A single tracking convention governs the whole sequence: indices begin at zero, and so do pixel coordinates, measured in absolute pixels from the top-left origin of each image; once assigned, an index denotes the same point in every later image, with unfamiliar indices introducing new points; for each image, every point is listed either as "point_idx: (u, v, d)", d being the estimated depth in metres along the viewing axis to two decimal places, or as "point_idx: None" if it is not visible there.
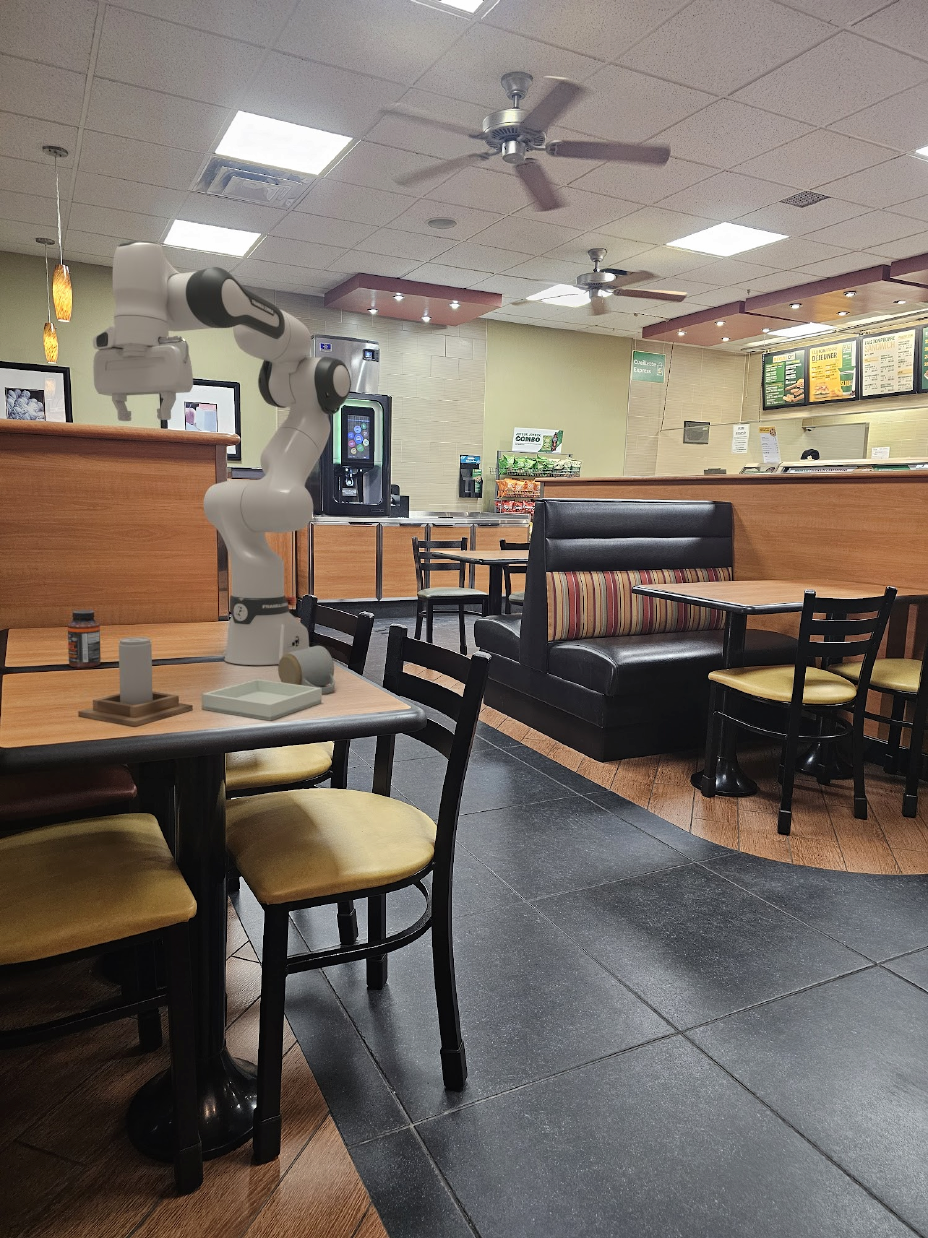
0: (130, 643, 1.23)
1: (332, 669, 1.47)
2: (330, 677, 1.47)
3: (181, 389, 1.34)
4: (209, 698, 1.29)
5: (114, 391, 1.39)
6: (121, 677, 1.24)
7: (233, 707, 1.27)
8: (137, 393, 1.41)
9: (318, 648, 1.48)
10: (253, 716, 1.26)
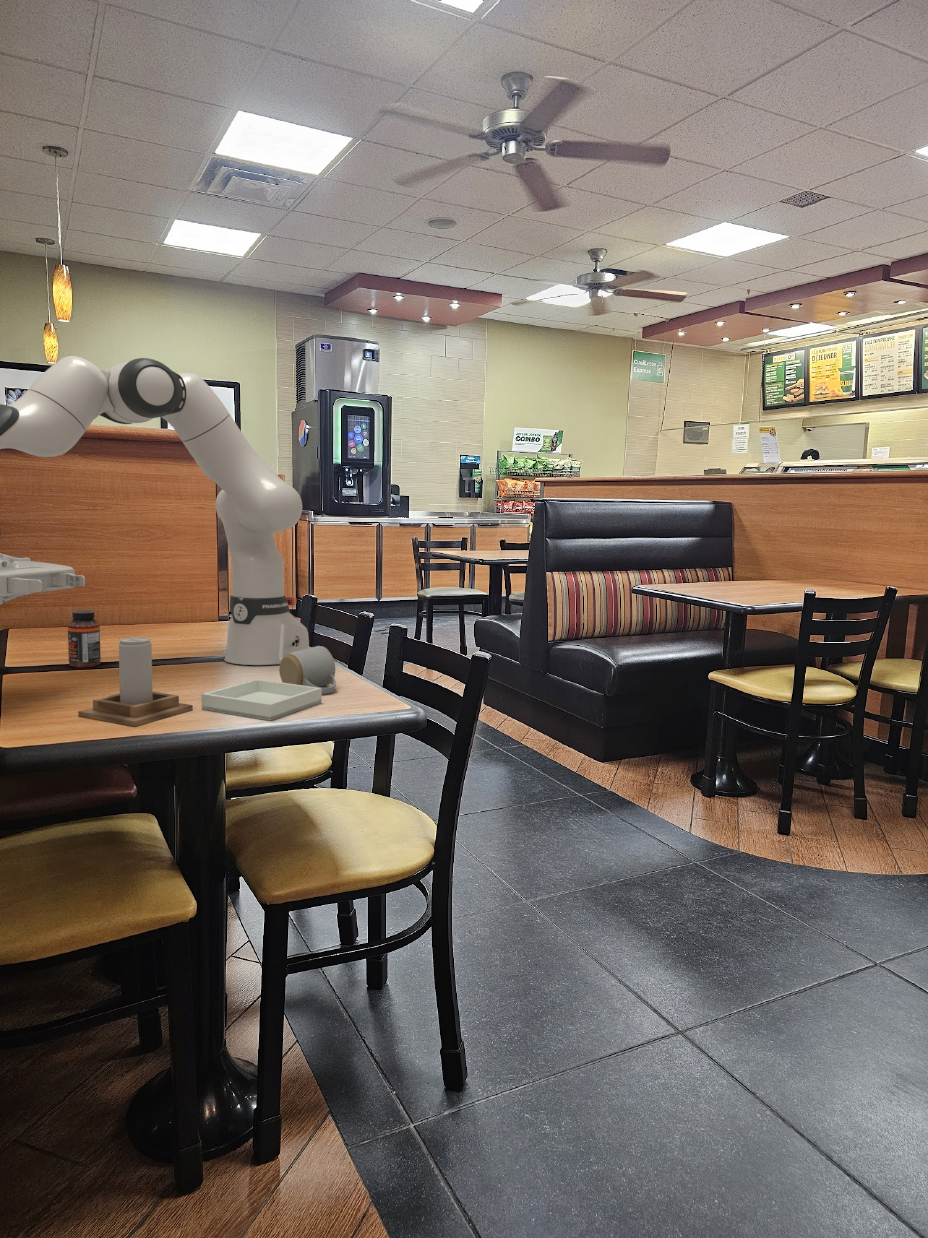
0: (130, 643, 1.23)
1: (333, 669, 1.47)
2: (331, 677, 1.47)
3: None
4: (209, 698, 1.29)
5: (57, 589, 1.32)
6: (121, 677, 1.24)
7: (233, 707, 1.27)
8: (47, 573, 1.29)
9: (319, 648, 1.48)
10: (253, 716, 1.26)
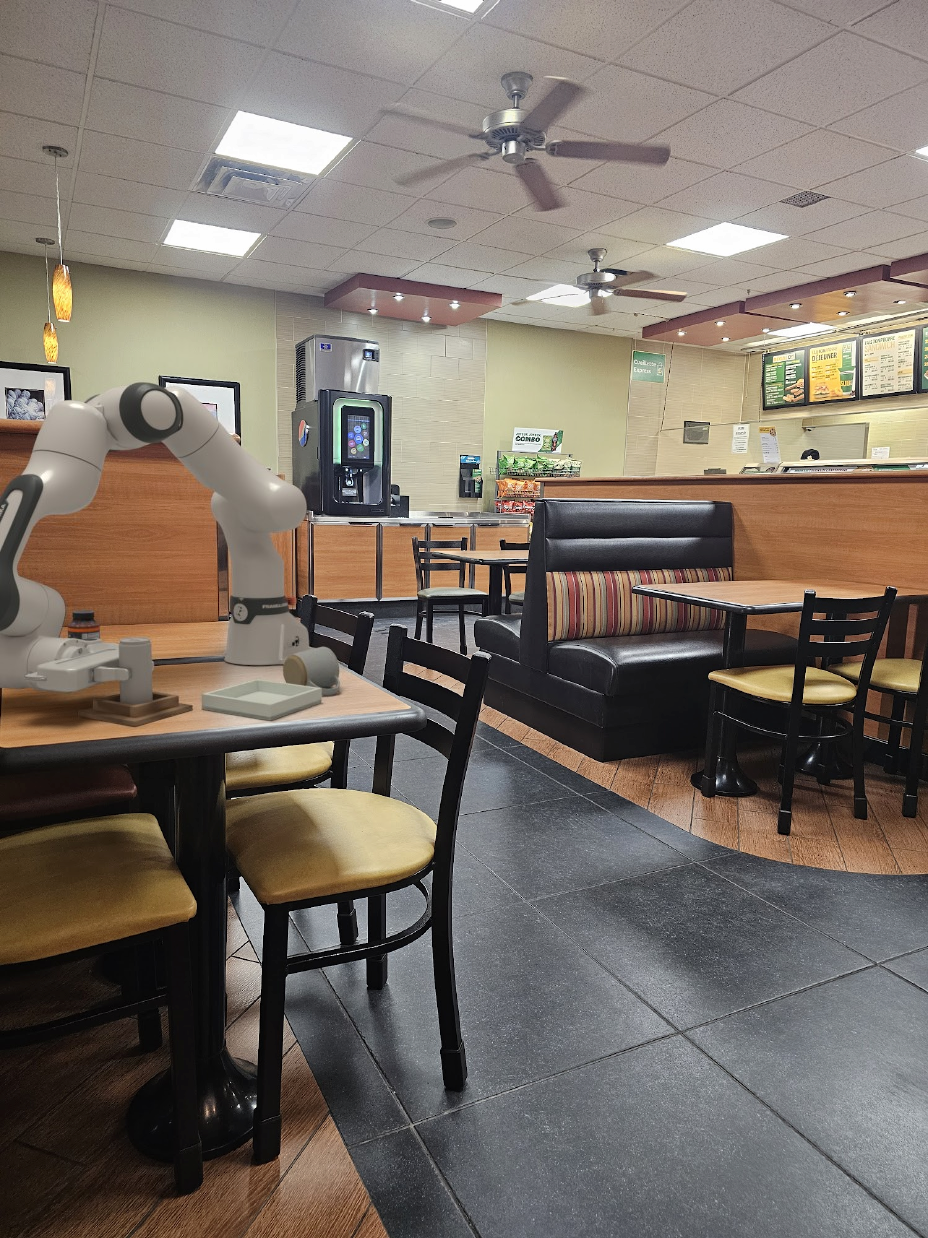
0: (130, 643, 1.23)
1: (337, 670, 1.46)
2: (335, 678, 1.46)
3: (75, 685, 1.17)
4: (209, 698, 1.29)
5: None
6: None
7: (233, 707, 1.27)
8: None
9: (323, 649, 1.47)
10: (253, 716, 1.26)
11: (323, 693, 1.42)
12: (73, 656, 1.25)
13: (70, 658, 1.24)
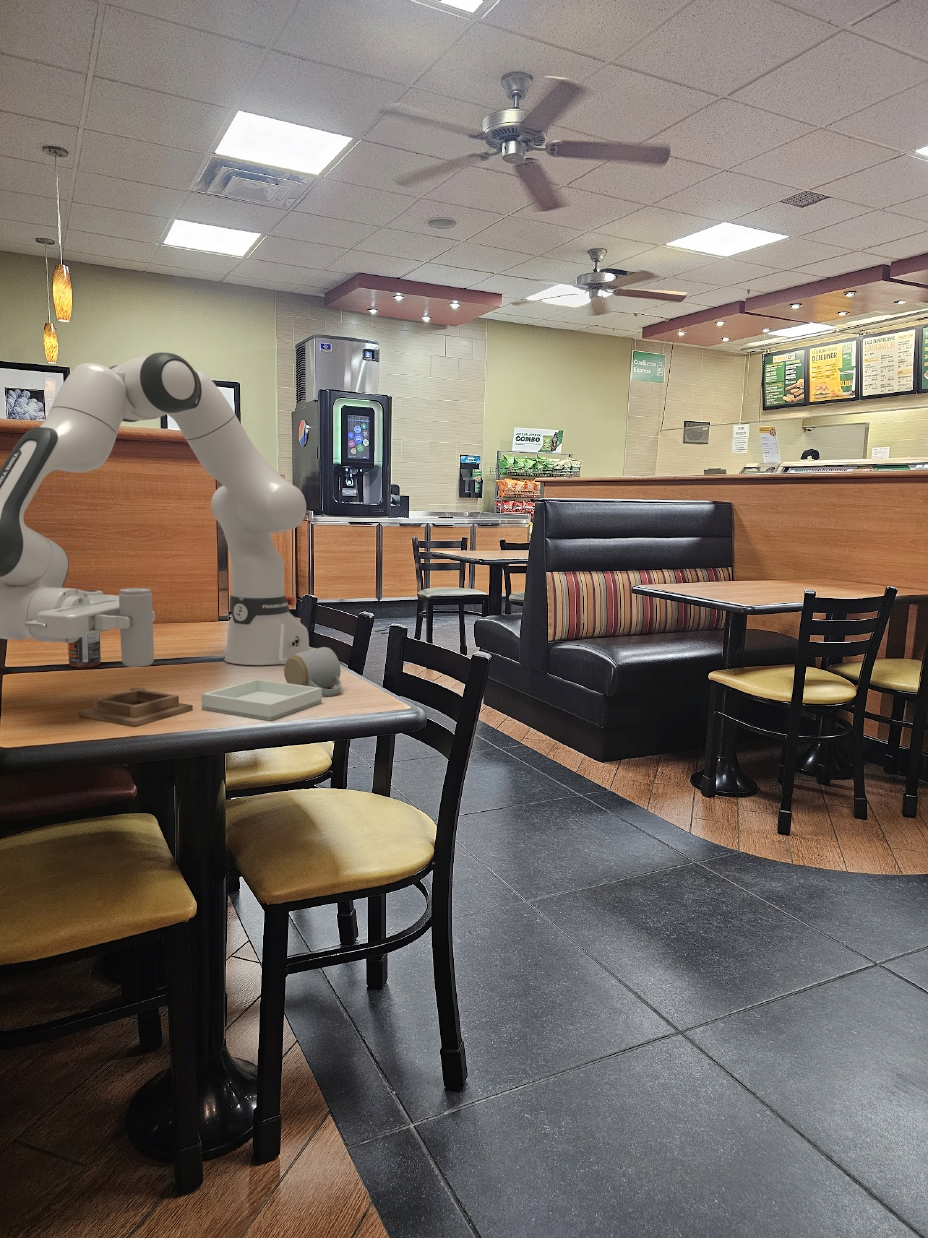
0: (130, 593, 1.22)
1: (338, 671, 1.46)
2: (336, 679, 1.46)
3: (75, 631, 1.16)
4: (209, 698, 1.29)
5: None
6: None
7: (233, 707, 1.27)
8: None
9: (324, 649, 1.47)
10: (253, 716, 1.26)
11: (324, 693, 1.41)
12: (73, 605, 1.24)
13: (70, 607, 1.23)
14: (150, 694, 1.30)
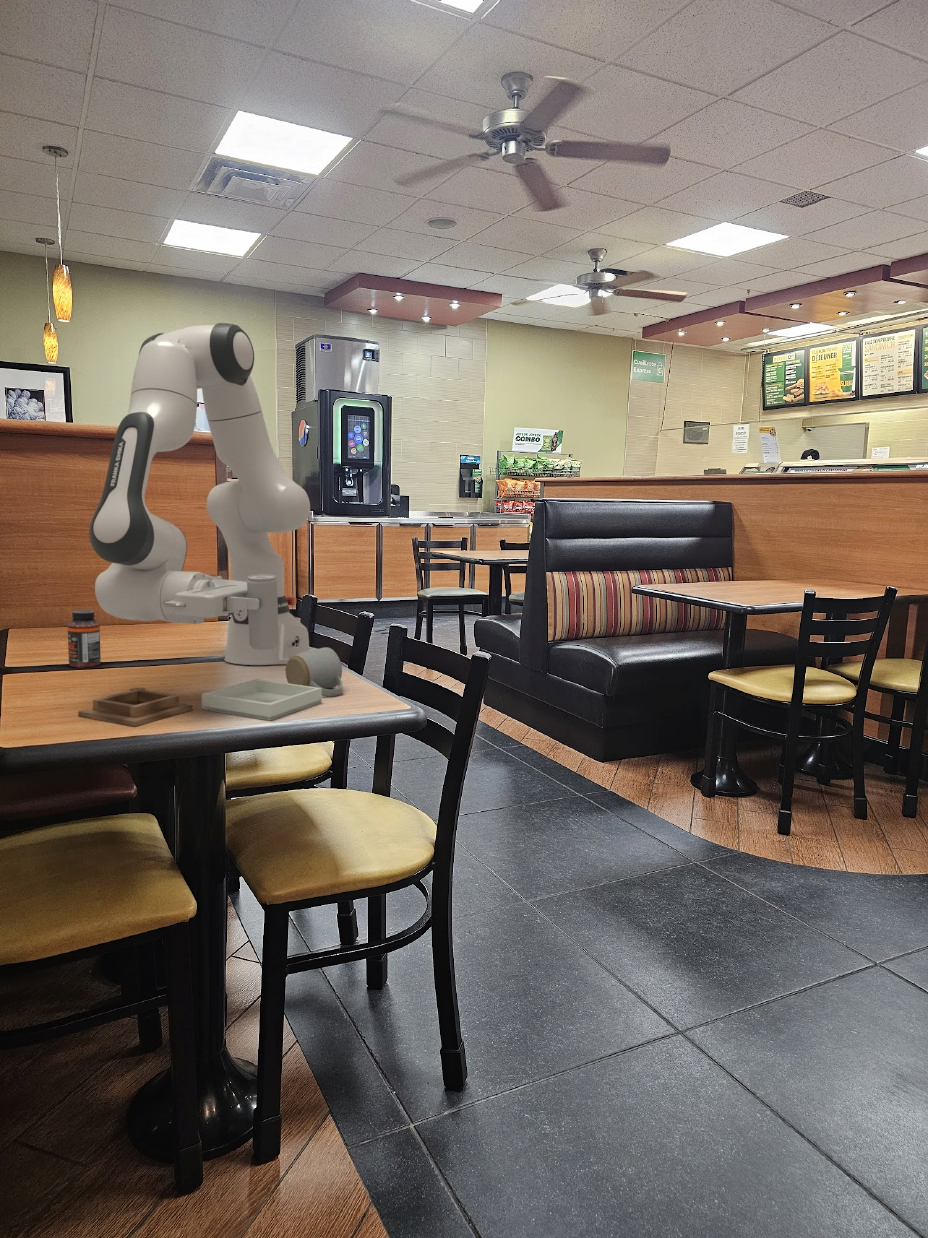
0: (259, 580, 1.28)
1: (340, 671, 1.46)
2: (338, 679, 1.45)
3: (213, 611, 1.23)
4: (209, 698, 1.29)
5: None
6: (250, 613, 1.30)
7: (233, 707, 1.27)
8: None
9: (326, 650, 1.47)
10: (253, 716, 1.26)
11: (326, 694, 1.41)
12: (203, 588, 1.31)
13: (201, 589, 1.30)
14: (150, 694, 1.30)
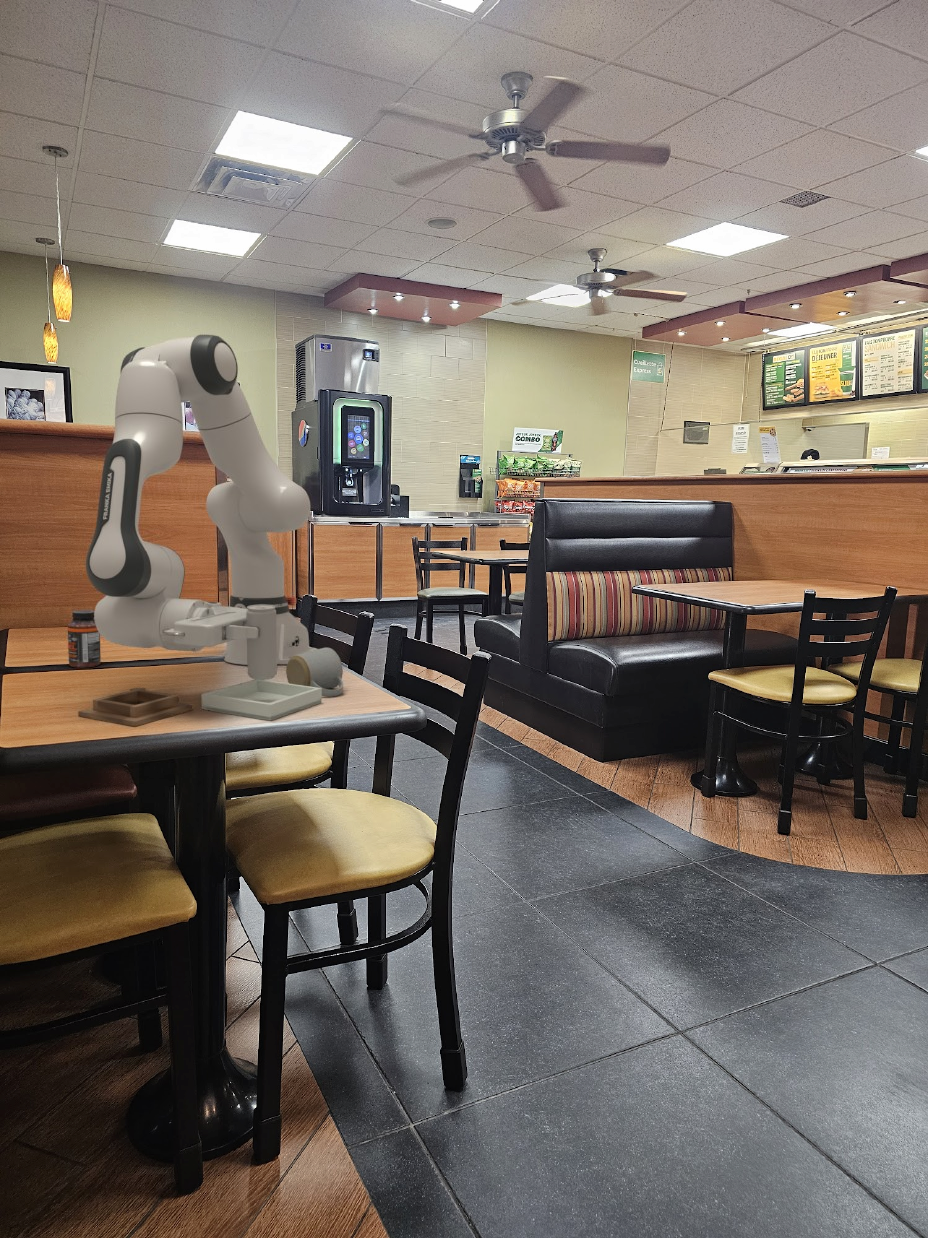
0: (258, 610, 1.29)
1: (341, 671, 1.46)
2: (339, 679, 1.45)
3: (212, 640, 1.23)
4: (209, 698, 1.29)
5: None
6: (249, 643, 1.30)
7: (233, 707, 1.27)
8: None
9: (326, 650, 1.46)
10: (253, 716, 1.26)
11: (326, 694, 1.41)
12: (202, 616, 1.31)
13: (200, 617, 1.30)
14: (150, 694, 1.30)
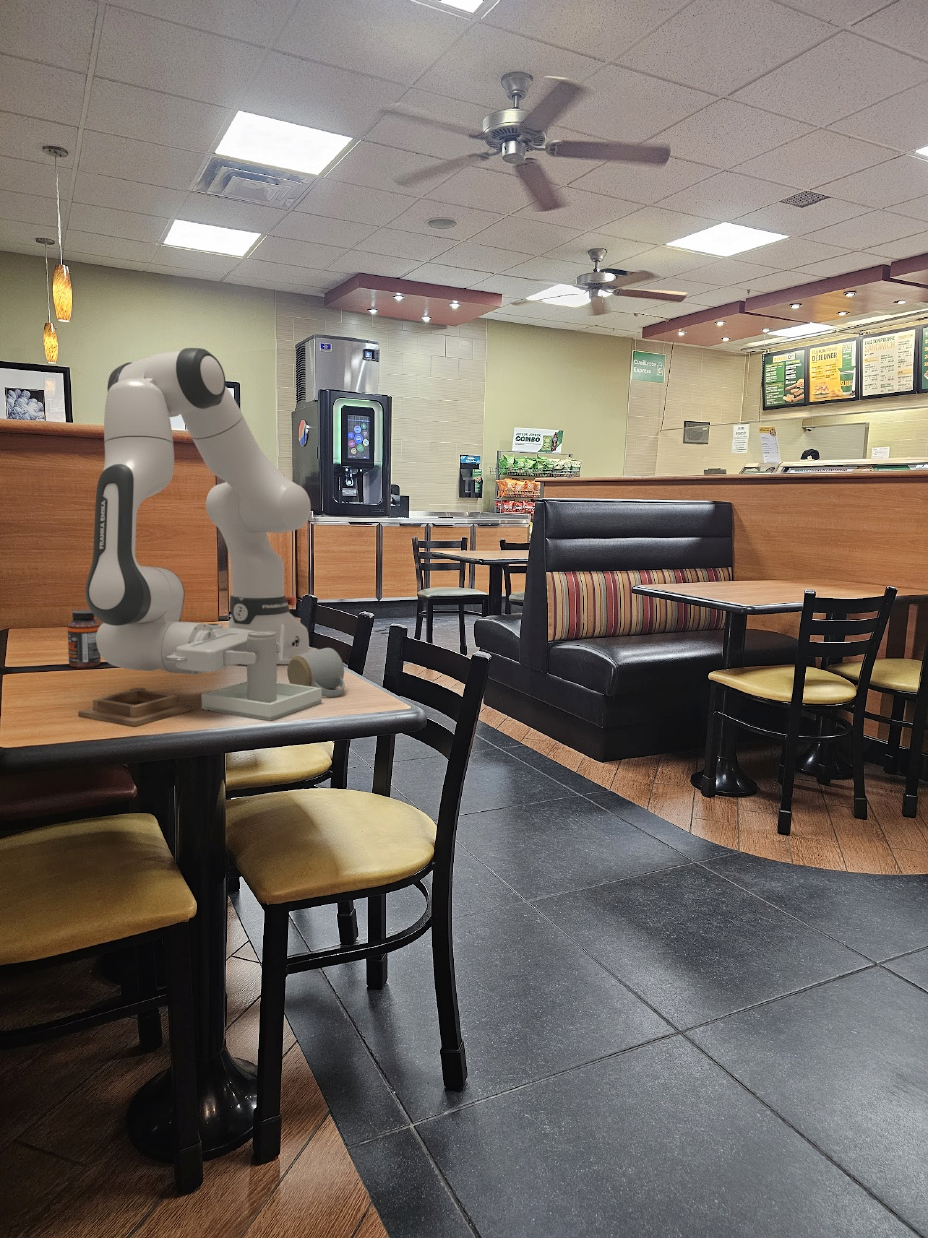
0: (259, 636, 1.29)
1: (342, 671, 1.45)
2: (340, 680, 1.45)
3: (214, 665, 1.24)
4: (209, 698, 1.29)
5: None
6: (249, 668, 1.30)
7: (233, 707, 1.27)
8: None
9: (328, 650, 1.46)
10: (253, 716, 1.26)
11: (328, 694, 1.41)
12: (204, 639, 1.32)
13: (202, 641, 1.31)
14: (150, 694, 1.30)
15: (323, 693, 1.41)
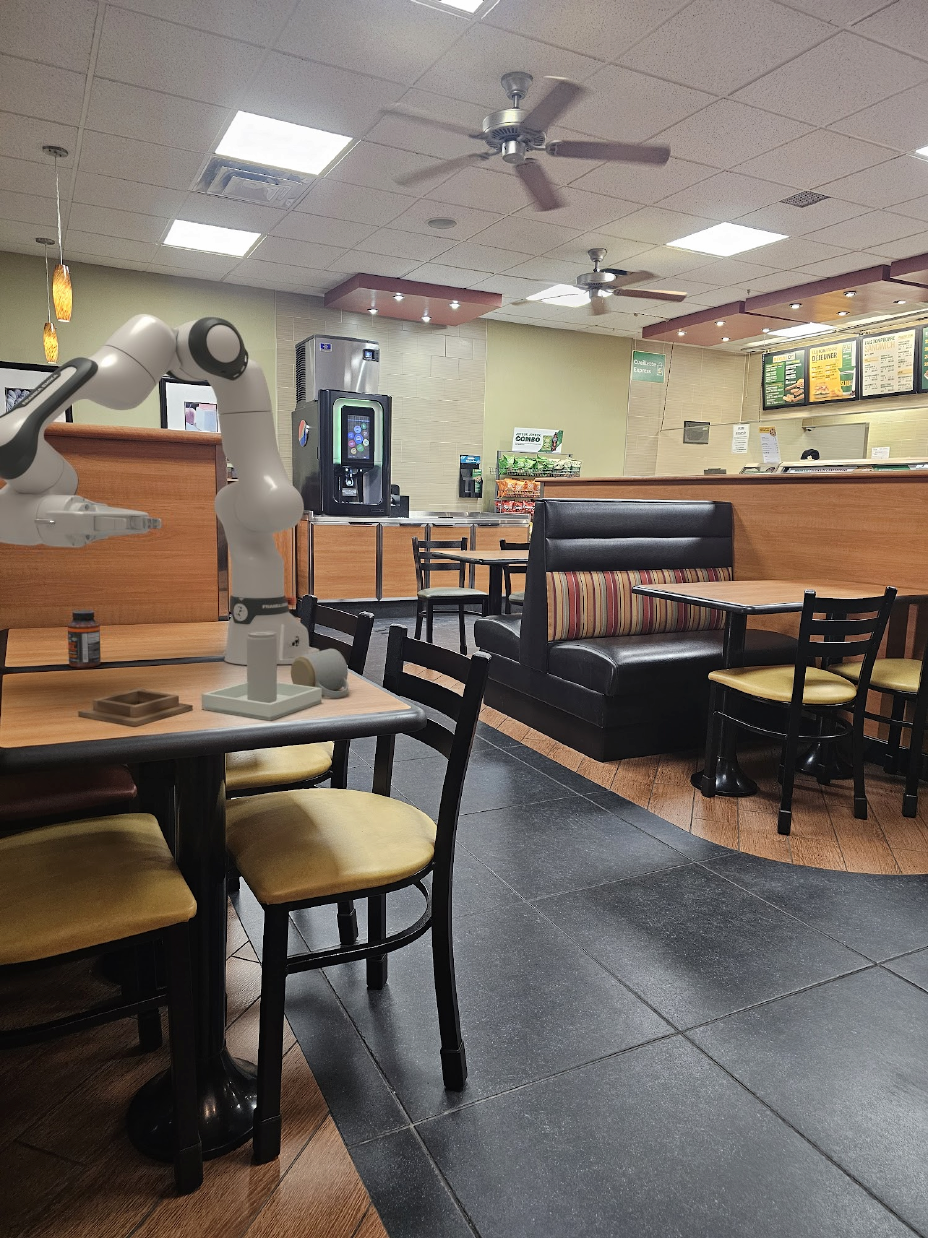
0: (259, 636, 1.29)
1: (346, 672, 1.45)
2: (344, 681, 1.44)
3: (82, 527, 1.24)
4: (209, 698, 1.29)
5: (135, 532, 1.39)
6: (249, 668, 1.30)
7: (233, 707, 1.27)
8: (126, 516, 1.36)
9: (331, 651, 1.45)
10: (253, 716, 1.26)
11: (332, 695, 1.40)
12: (80, 510, 1.32)
13: (77, 511, 1.31)
14: (150, 694, 1.30)
15: (327, 694, 1.40)
